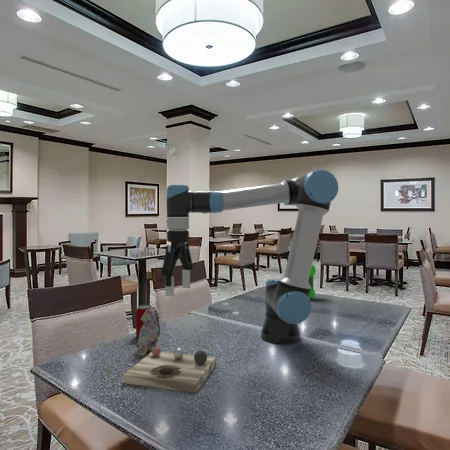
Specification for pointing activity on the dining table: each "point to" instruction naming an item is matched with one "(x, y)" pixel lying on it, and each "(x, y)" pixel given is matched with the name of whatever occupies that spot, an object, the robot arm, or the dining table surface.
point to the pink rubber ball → (156, 351)
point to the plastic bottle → (312, 281)
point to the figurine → (148, 332)
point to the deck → (170, 372)
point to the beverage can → (139, 314)
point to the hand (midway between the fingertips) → (178, 291)
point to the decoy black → (200, 357)
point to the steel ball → (178, 353)
